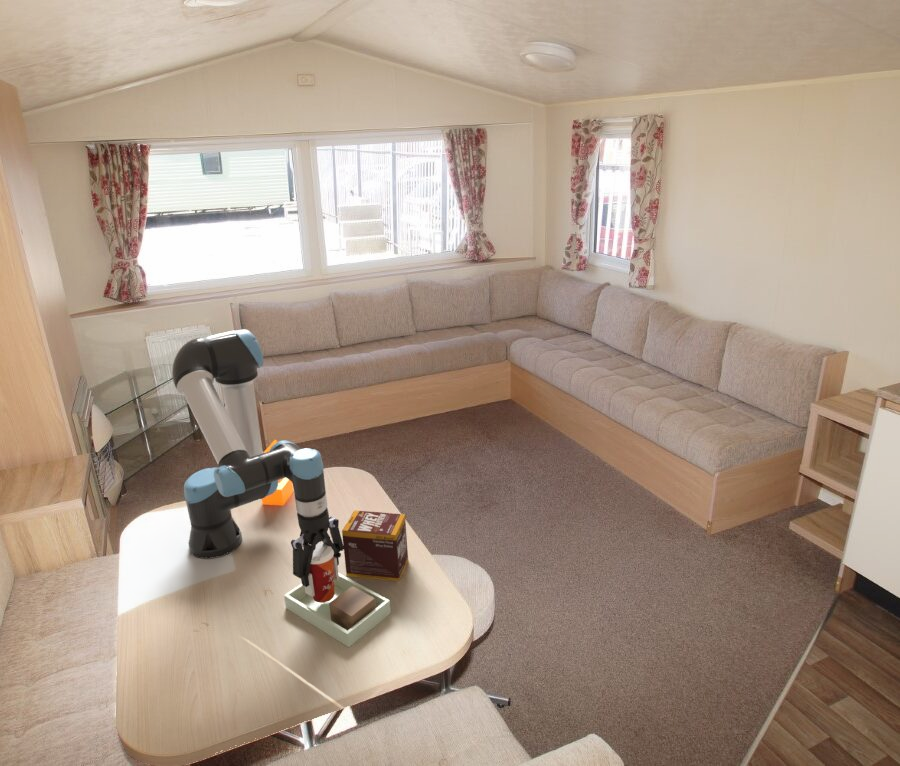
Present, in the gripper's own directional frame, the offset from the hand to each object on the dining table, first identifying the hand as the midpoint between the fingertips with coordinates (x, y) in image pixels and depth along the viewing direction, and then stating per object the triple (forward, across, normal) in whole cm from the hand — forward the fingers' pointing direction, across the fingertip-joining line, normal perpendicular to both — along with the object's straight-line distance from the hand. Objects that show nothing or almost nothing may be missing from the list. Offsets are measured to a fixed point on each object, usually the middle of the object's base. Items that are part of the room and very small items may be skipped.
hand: (322, 585), depth 171 cm
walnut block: (+5, 0, -11) cm, 12 cm away
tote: (+6, 0, -5) cm, 8 cm away
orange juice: (+6, +27, +54) cm, 61 cm away
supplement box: (+6, +19, -1) cm, 20 cm away
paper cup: (+3, 0, 0) cm, 3 cm away
